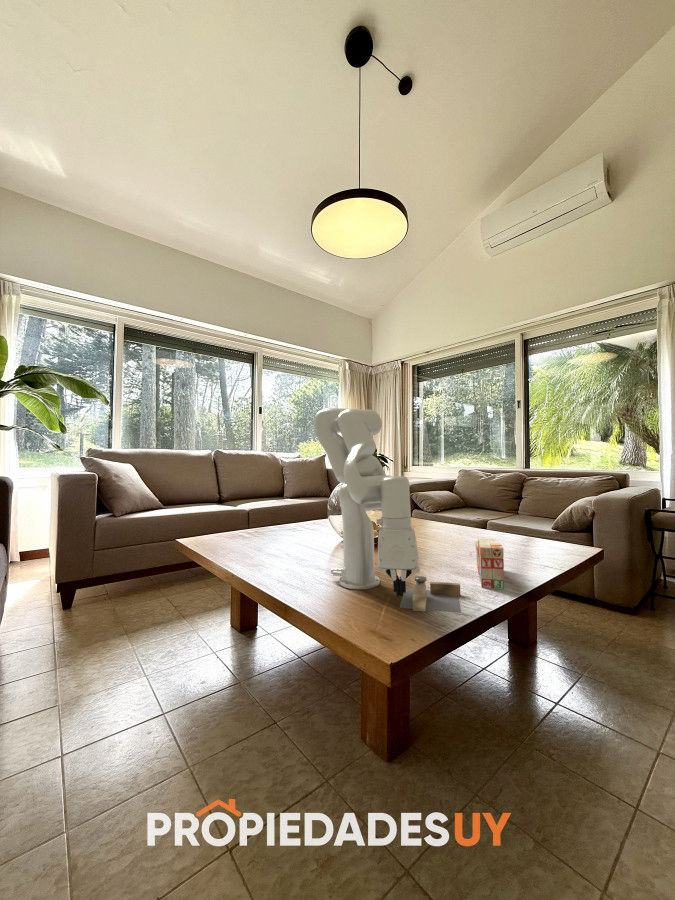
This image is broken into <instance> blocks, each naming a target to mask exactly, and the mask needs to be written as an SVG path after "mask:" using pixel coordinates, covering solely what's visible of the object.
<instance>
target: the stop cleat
mask: <svg viewBox="0 0 675 900" xmlns="http://www.w3.org/2000/svg"><path fill="white" fill-rule="evenodd" d="M429 585H430V586H429V589H430V594H434V595H448V596H459V597H461V583H459V582H458V583H457V582H456V583H455V582H442V581H441V582H440V581H430V583H429Z"/></svg>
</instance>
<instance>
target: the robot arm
mask: <svg viewBox="0 0 675 900" xmlns="http://www.w3.org/2000/svg"><path fill="white" fill-rule="evenodd" d="M313 421H314V426H313V427H314V431H315V435H316V438H317V440H318V442H319V444H320V445H321V446H322V448H323V449H324V451H325V453H326V455H327V459H328V461H329V463H330V466H331V469H332V471H333V473H334V476H335V479H336V480H337V481H338V482H339V483H341V484H343V485H341V486H340V489H339V490H338V500H339V505H340V511H341V518H342V519H341V520H342V541H343V543H342V544H343V547H342V548H343V567H340V568H338V567H331V568H330V569H331V570H330V574H331V575H333V576H334V577H340V578H339V579H338V582H339V583H338V584H339V585H340V586H341V587H343V588H346V589H350V590H368V589H372V588H376V587H378V586H379V585H380V584H381V580H380V579H381V578H380V577H379V576H377V575H376V570H375V538H374V537H375V536H374V534H375V533H374V532H375V531H374V524H373V521H372V519H371V517H370V516H369V515H368V513H367V512H369V511H378V510H381V518H379V519H378V518H377V519H376V525H380V527H381V528H379V530H378V538H377V565H378V568H377V571H379V572H380V573H384V574H387V575H388V577H390V579H391V580H392V583H393V593H395V595H396V598H398V597H401V598H402V597H403V594H404V593H406V589H407V585H406V582H407V581H406V580H407V579H408V578H409V577H410V576H411V575H414V574H420V572H421V568H420V564H419V549H418V544H417V543H418V542H417V535H416V531H415V528H413V527H412V515H411V514H412V512H411V495H410V493H411V492H410V481H409V478H407V477H406V476H401V475H400V476H398V475H397V476H395V475H394V476H392V475H387V474H386V472H385V469H384V468H383V465H382V463H381V462H380V460H379V459H378V458H377V457H376V456H374V455H373V454H374V453H375V451H376V450H377V449H376V448H377V445H376V442H375V440H374V438H373V436H376V435H378V434H379V433H380V432H381V430H382V424H383V422H382V418H381V416H380V414H379V413H378V412H377V411H375V410H374V409H363V408H361V409H358V408H341V407H340V408H339V407H337V408H336V407H330V408H324V409H320V410H319V411H318V412H317V413H316V414H315V416H314V420H313ZM339 433H340V434H341V435H340V434H339ZM398 571H401V574H400V575H401V576H400V577H399V576H398Z"/></svg>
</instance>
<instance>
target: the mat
mask: <svg viewBox="0 0 675 900" xmlns="http://www.w3.org/2000/svg"><path fill="white" fill-rule="evenodd" d="M413 591H414V588H406V593H404V594H403V597H401V601H400V605H399V609H400V608H401V609H409V610H411V609H412V610H413ZM460 604H461V603H460V596H448V595H434V594H430V590H428V589H426V609H425V611H439V612H451V613H461V612H462V610H461V605H460Z"/></svg>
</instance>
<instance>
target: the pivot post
mask: <svg viewBox="0 0 675 900" xmlns="http://www.w3.org/2000/svg"><path fill="white" fill-rule="evenodd" d="M414 581H415V584H418V585H426V582H427V577H426V576H423V575H420V576H419V575H417V576H415V577H414Z"/></svg>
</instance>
